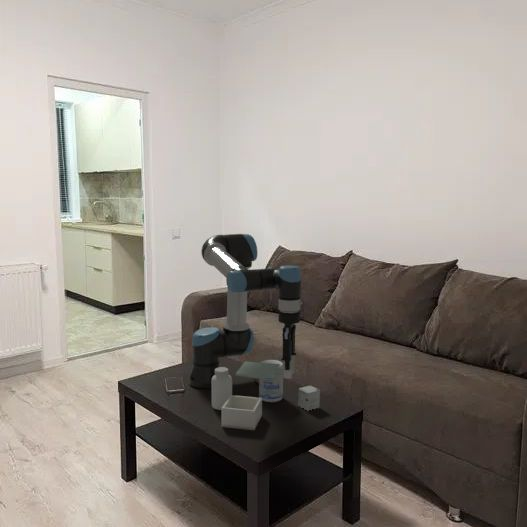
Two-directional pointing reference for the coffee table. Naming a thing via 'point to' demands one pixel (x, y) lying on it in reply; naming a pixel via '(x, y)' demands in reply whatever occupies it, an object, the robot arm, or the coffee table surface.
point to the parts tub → (241, 412)
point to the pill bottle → (221, 387)
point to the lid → (259, 370)
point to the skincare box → (309, 398)
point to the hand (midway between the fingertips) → (288, 375)
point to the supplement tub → (271, 385)
